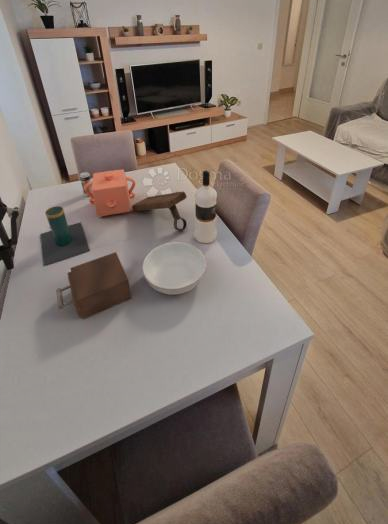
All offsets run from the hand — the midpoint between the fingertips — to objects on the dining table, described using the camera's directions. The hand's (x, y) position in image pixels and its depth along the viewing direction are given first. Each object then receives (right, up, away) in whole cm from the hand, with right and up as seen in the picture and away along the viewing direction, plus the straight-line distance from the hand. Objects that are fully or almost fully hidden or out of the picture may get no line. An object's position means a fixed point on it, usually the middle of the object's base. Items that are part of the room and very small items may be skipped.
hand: (10, 266), depth 74 cm
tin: (-3, -1, +36) cm, 36 cm away
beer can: (-5, +17, +68) cm, 70 cm away
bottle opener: (+34, +7, +50) cm, 61 cm away
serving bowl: (+43, -10, +20) cm, 49 cm away
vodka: (+54, +1, +39) cm, 67 cm away
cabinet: (+20, -13, +15) cm, 28 cm away
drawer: (+17, -13, +13) cm, 25 cm away
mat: (-3, -1, +36) cm, 36 cm away
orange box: (+12, +10, +55) cm, 57 cm away
